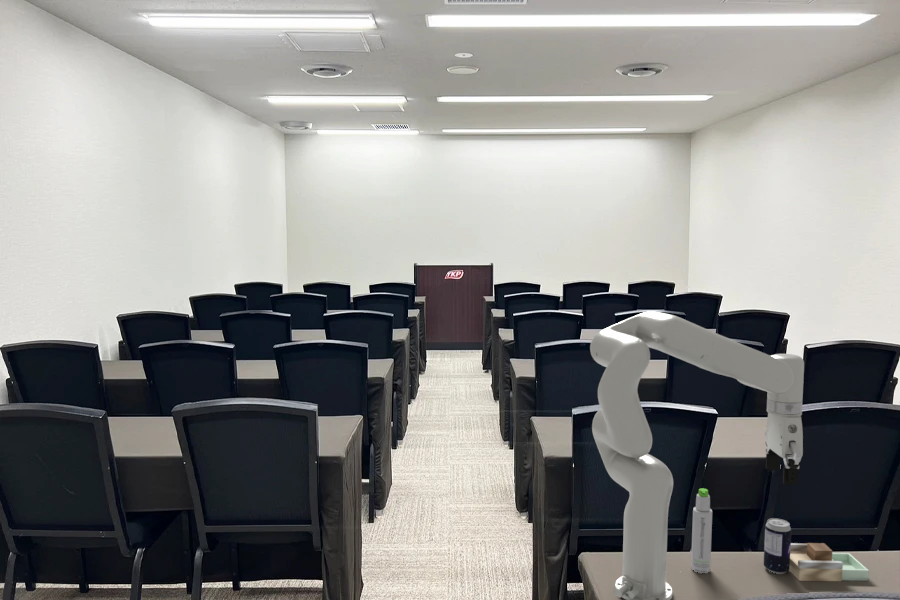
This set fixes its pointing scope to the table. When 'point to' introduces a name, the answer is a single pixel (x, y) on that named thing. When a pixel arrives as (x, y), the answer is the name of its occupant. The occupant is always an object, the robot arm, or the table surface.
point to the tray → (851, 567)
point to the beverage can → (777, 545)
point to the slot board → (812, 566)
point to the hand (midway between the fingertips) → (781, 476)
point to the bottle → (701, 533)
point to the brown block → (819, 552)
